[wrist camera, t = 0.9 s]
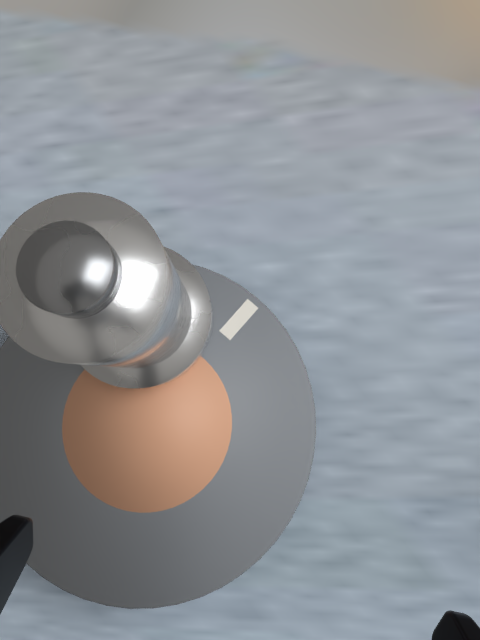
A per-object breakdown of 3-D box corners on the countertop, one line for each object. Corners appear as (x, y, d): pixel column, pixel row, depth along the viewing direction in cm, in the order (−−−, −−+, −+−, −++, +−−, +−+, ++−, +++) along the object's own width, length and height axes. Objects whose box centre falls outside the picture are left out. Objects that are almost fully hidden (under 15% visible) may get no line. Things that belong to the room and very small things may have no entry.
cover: (147, 417, 20) (64, 457, 10) (45, 324, 21) (-125, 277, 11) (240, 311, 21) (248, 255, 11) (141, 225, 22) (64, 99, 12)
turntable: (161, 673, 20) (156, 692, 18) (-79, 436, 21) (-98, 440, 20) (375, 404, 22) (383, 405, 20) (144, 206, 23) (140, 197, 22)
